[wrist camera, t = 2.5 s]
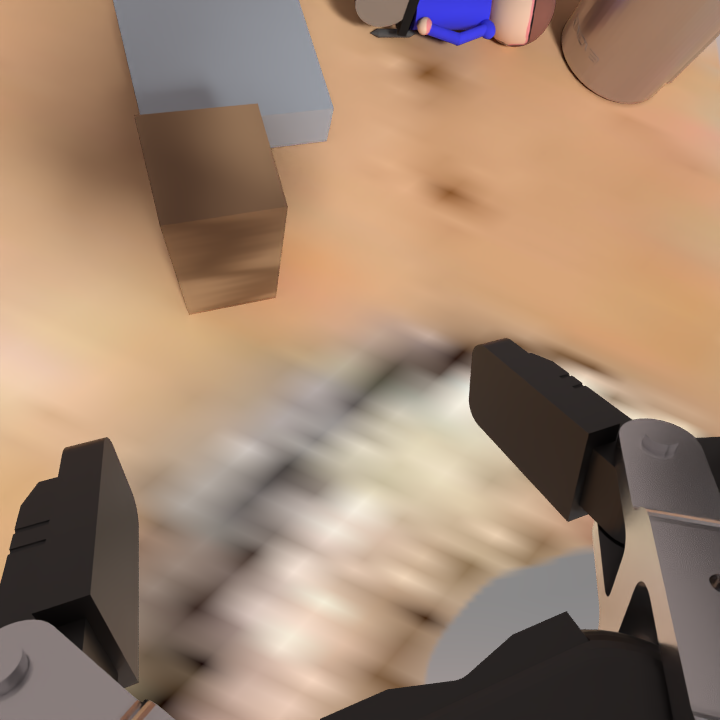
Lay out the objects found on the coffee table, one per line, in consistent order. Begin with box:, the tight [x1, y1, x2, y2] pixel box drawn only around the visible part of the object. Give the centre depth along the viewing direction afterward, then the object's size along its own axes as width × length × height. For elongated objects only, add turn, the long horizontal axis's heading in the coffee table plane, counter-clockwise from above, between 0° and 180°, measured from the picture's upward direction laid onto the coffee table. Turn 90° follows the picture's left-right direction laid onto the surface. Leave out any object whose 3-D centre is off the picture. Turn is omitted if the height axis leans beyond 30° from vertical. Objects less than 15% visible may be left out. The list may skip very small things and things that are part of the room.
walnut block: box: [134, 103, 288, 315], centre depth 25 cm, size 5×5×10 cm
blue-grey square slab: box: [113, 0, 334, 148], centre depth 32 cm, size 11×11×3 cm
